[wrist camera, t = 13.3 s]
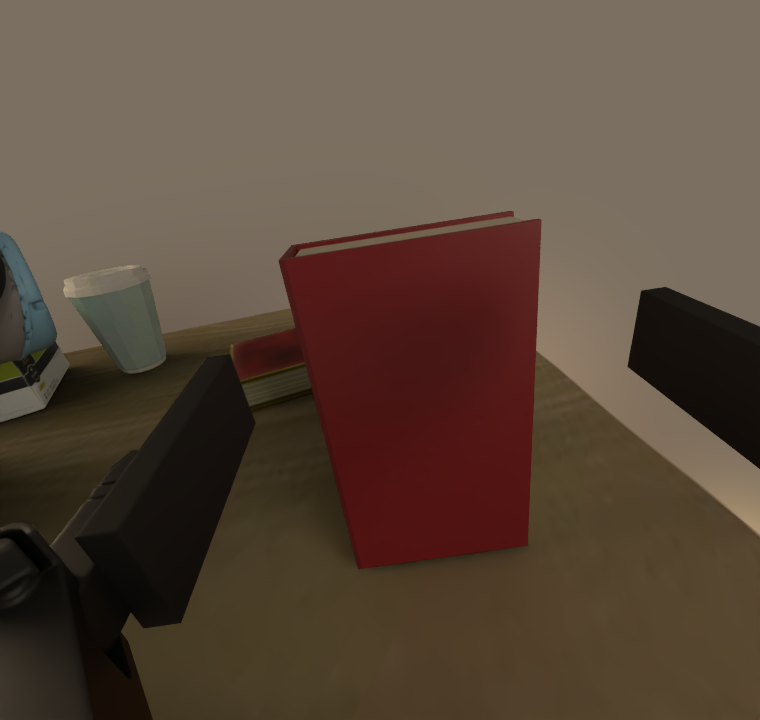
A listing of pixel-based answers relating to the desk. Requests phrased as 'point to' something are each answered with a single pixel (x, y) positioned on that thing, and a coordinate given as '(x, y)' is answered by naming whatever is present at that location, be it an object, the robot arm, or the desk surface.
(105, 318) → the disposable coffee cup
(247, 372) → the hardcover book
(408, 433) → the book
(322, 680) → the desk surface
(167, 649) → the desk surface
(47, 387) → the tea box
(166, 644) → the desk surface
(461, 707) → the desk surface
